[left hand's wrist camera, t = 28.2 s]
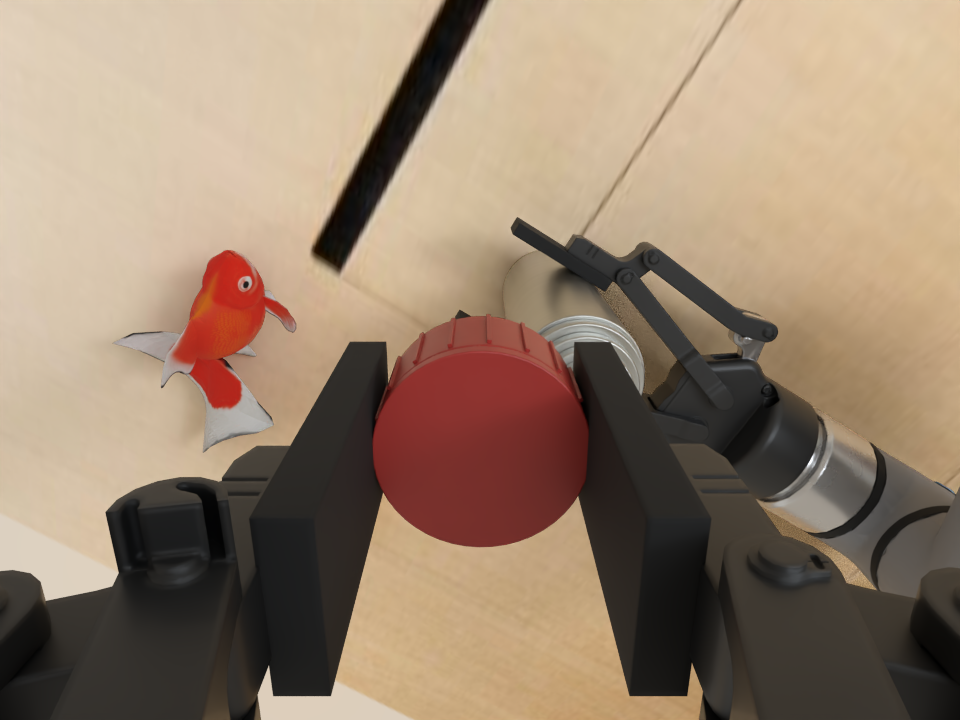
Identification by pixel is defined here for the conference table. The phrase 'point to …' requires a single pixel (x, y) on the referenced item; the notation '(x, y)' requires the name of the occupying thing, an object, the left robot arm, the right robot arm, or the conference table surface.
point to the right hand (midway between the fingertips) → (485, 274)
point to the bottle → (566, 311)
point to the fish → (219, 345)
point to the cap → (481, 433)
